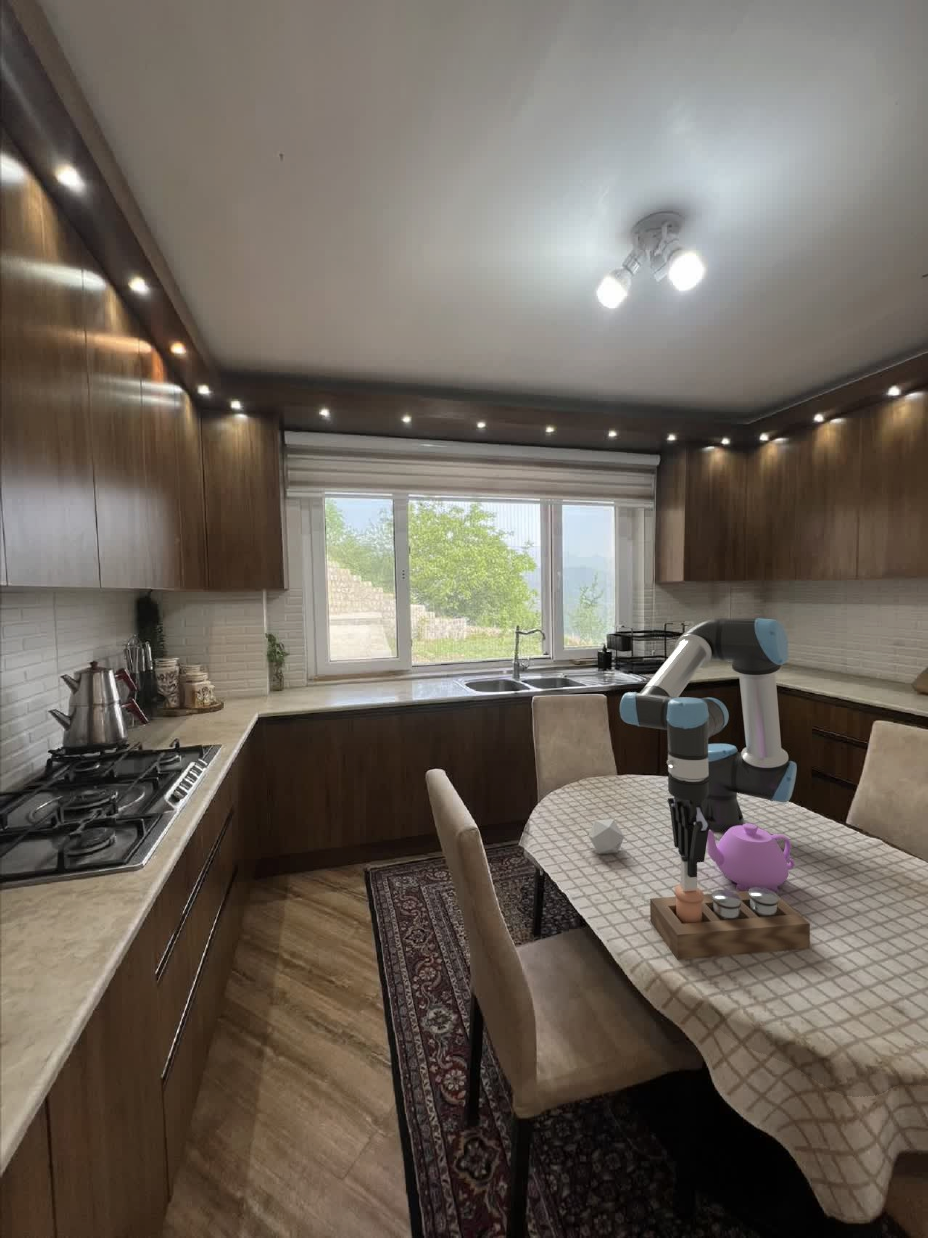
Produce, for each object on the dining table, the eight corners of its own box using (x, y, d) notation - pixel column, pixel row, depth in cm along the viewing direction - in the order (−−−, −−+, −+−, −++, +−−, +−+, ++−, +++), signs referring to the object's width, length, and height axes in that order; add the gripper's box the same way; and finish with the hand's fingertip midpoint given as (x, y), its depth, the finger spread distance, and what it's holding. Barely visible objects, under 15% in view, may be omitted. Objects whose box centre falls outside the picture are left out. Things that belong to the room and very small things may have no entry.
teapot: (712, 899, 120) (712, 840, 119) (688, 864, 135) (687, 812, 135) (812, 900, 118) (812, 841, 118) (776, 864, 134) (776, 812, 133)
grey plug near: (767, 917, 111) (767, 886, 111) (784, 933, 106) (784, 900, 105) (742, 919, 111) (742, 887, 110) (759, 935, 105) (759, 902, 105)
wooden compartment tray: (769, 911, 115) (769, 889, 114) (809, 948, 103) (809, 923, 103) (650, 921, 113) (650, 898, 112) (677, 960, 101) (677, 934, 100)
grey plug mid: (731, 920, 111) (731, 888, 110) (747, 936, 105) (747, 903, 105) (706, 922, 110) (706, 890, 110) (721, 939, 105) (721, 906, 104)
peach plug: (694, 914, 110) (694, 883, 109) (709, 931, 104) (708, 898, 104) (670, 917, 109) (669, 885, 109) (682, 933, 104) (682, 900, 104)
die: (617, 865, 137) (633, 829, 140) (586, 846, 139) (602, 811, 141) (609, 860, 145) (623, 827, 148) (580, 843, 147) (595, 810, 149)
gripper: (655, 765, 112) (656, 873, 113) (686, 788, 99) (687, 909, 100) (689, 763, 112) (690, 870, 114) (724, 786, 99) (725, 906, 101)
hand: (689, 888), depth 107 cm, fingers closed
